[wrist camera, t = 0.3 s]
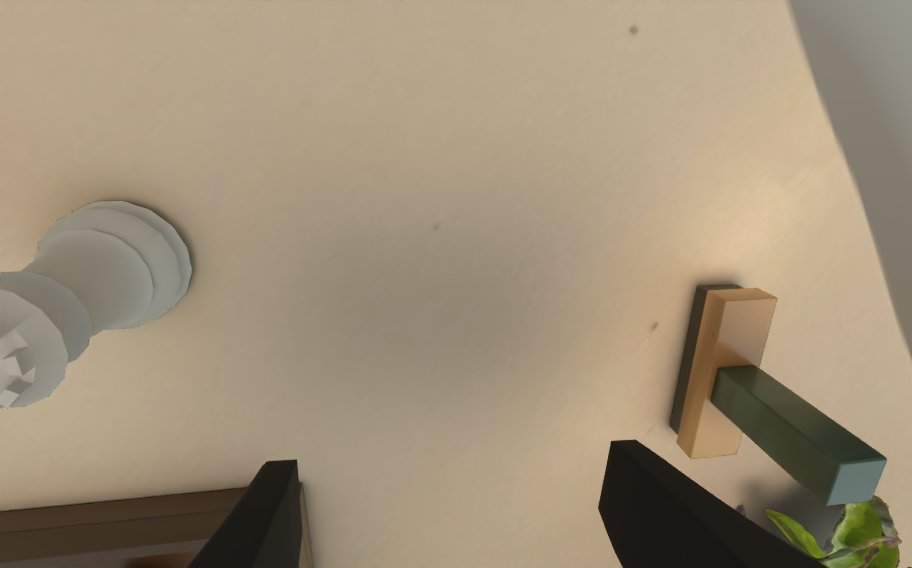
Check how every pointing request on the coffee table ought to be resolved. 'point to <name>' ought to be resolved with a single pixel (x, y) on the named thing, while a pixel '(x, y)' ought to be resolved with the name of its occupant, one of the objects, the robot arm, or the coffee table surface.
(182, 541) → the tray
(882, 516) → the passion flower
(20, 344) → the rook chess piece
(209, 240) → the coffee table surface
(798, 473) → the brush
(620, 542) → the robot arm
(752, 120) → the coffee table surface
